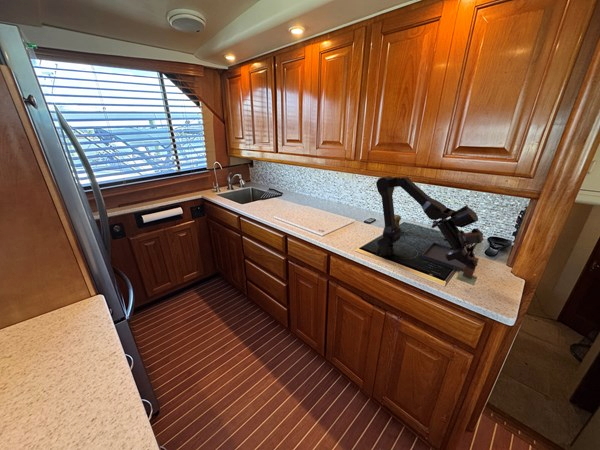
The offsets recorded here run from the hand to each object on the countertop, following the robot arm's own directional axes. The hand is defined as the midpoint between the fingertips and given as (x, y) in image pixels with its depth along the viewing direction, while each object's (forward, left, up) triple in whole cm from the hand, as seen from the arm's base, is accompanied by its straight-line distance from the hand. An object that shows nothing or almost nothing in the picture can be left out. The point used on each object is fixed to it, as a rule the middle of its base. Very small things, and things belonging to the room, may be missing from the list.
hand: (475, 267), depth 91 cm
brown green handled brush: (-1, 0, -7) cm, 7 cm away
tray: (-12, +22, -10) cm, 27 cm away
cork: (-44, +33, -11) cm, 56 cm away
